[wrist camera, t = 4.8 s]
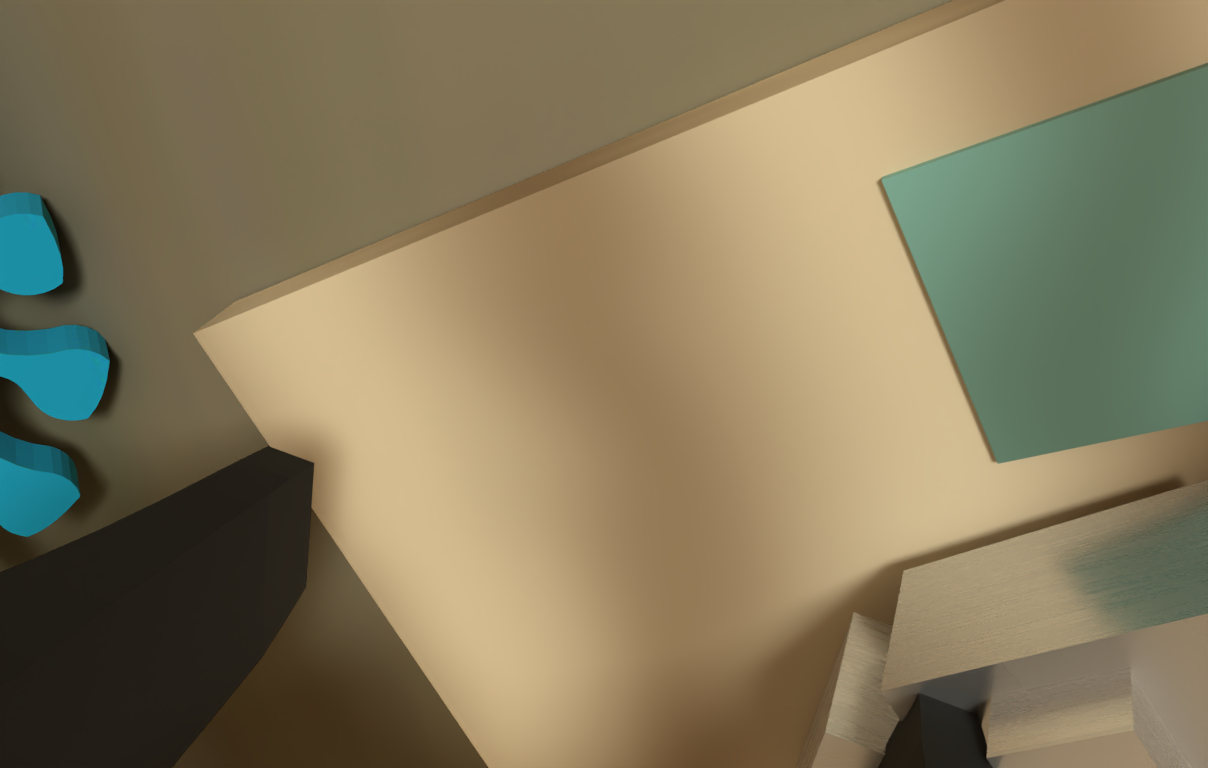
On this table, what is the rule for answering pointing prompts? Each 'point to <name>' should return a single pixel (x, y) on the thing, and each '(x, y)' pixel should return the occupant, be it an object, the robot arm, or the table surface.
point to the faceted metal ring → (1043, 646)
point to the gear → (42, 371)
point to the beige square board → (757, 374)
